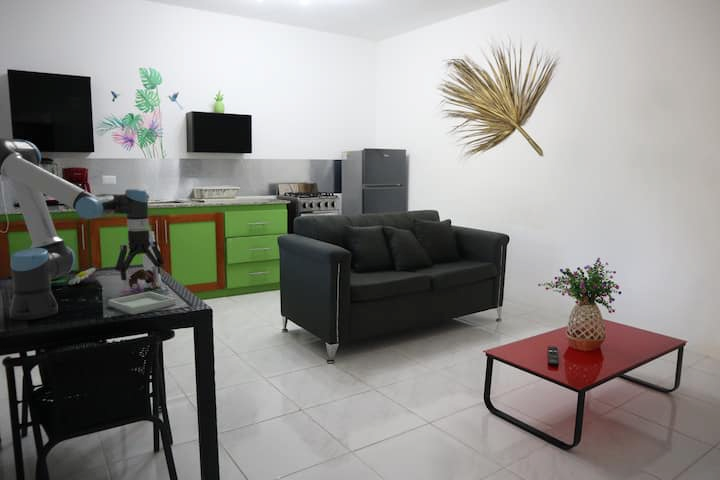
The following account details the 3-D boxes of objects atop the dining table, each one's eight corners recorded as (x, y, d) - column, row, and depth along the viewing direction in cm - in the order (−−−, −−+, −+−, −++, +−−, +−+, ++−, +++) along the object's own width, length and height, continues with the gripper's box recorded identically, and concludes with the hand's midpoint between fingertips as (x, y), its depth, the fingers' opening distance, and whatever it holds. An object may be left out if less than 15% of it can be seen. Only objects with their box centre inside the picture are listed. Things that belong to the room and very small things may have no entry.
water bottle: (146, 285, 235) (144, 230, 231) (163, 285, 236) (160, 230, 232) (141, 289, 228) (139, 232, 224) (158, 289, 229) (156, 232, 225)
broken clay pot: (153, 291, 197) (140, 274, 194) (133, 301, 198) (119, 284, 195) (164, 277, 208) (152, 260, 205) (144, 286, 209) (132, 270, 206)
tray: (132, 314, 190) (132, 308, 190) (108, 306, 201) (108, 300, 201) (175, 304, 204) (175, 298, 204) (150, 297, 215) (150, 291, 214)
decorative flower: (26, 298, 219) (101, 279, 238) (23, 287, 218) (99, 269, 237) (21, 294, 228) (94, 276, 247) (18, 283, 228) (91, 266, 246)
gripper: (112, 233, 187) (116, 292, 190) (171, 227, 205) (174, 281, 209) (102, 232, 191) (106, 289, 194) (161, 226, 210) (163, 278, 213)
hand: (141, 285), depth 201 cm, fingers closed on broken clay pot, 11 cm apart
